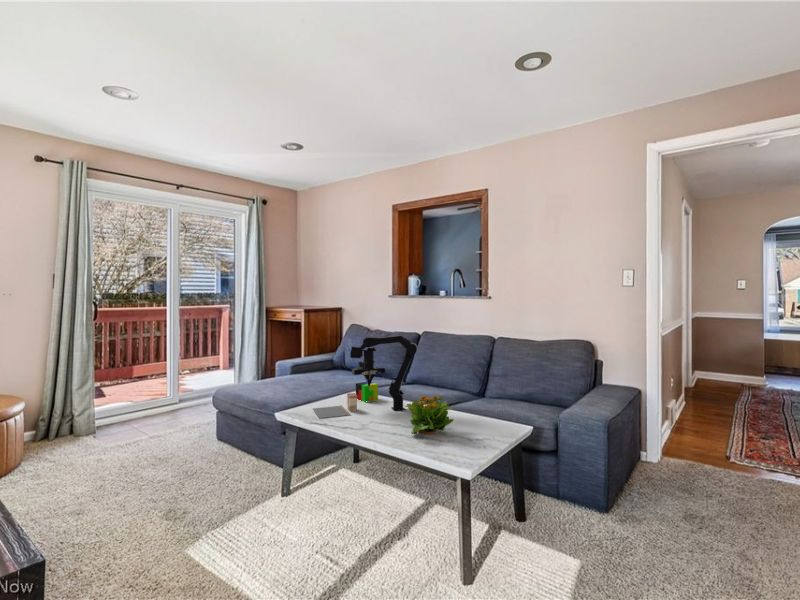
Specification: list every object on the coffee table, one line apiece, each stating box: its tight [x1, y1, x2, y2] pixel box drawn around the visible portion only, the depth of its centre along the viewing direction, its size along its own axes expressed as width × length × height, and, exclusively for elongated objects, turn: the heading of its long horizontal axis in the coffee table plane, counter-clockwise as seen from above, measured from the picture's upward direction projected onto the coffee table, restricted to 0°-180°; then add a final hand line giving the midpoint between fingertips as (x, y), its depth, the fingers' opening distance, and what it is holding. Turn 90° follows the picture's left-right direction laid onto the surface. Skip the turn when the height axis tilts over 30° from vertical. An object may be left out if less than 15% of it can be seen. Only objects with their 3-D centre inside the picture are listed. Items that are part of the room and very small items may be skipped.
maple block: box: [346, 392, 358, 412], centre depth 238 cm, size 6×4×9 cm, turn 22°
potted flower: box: [405, 394, 454, 436], centre depth 201 cm, size 25×24×18 cm
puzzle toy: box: [355, 381, 379, 403], centre depth 262 cm, size 10×10×10 cm
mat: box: [312, 404, 352, 419], centre depth 233 cm, size 20×17×1 cm
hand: (368, 385), depth 241 cm, fingers closed
